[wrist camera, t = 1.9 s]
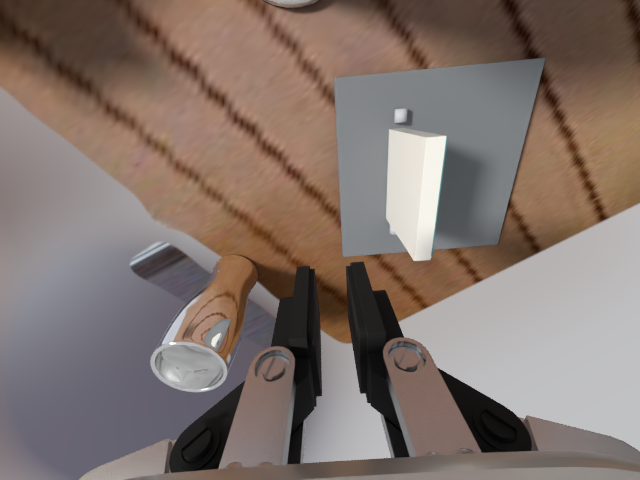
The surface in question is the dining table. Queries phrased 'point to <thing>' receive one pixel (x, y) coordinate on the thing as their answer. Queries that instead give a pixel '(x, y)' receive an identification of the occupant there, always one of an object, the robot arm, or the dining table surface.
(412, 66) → the dining table surface
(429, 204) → the tile
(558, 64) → the dining table surface
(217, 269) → the beer glass
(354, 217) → the mat
